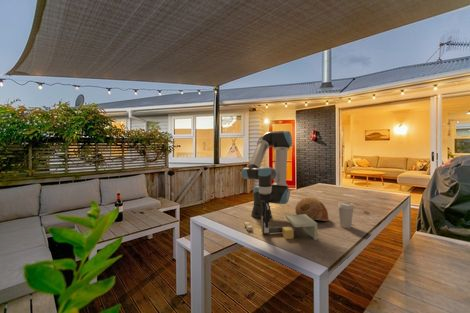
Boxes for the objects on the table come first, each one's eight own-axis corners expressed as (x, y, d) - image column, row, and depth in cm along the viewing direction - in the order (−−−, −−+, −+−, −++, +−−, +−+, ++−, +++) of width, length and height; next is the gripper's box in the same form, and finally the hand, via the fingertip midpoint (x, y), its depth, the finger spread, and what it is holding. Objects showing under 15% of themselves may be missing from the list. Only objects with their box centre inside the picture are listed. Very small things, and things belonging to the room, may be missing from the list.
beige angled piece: (285, 230, 143) (285, 215, 142) (305, 228, 144) (305, 214, 143) (295, 241, 127) (295, 224, 126) (317, 239, 128) (317, 223, 128)
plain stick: (244, 226, 151) (244, 222, 151) (248, 225, 152) (248, 221, 151) (248, 232, 141) (248, 227, 141) (252, 231, 142) (252, 227, 142)
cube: (282, 235, 135) (282, 227, 134) (290, 234, 135) (290, 226, 135) (285, 239, 130) (285, 230, 130) (293, 238, 130) (293, 229, 130)
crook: (261, 231, 138) (261, 215, 138) (290, 229, 141) (290, 213, 140) (265, 238, 129) (265, 221, 128) (296, 236, 131) (296, 219, 130)
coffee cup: (357, 228, 143) (357, 205, 142) (343, 229, 141) (343, 206, 140) (347, 223, 152) (347, 201, 151) (334, 224, 151) (334, 202, 150)
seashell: (312, 210, 176) (315, 192, 172) (331, 224, 158) (335, 205, 153) (289, 213, 168) (292, 195, 164) (306, 229, 150) (310, 208, 146)
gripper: (255, 190, 143) (256, 226, 145) (262, 196, 126) (262, 237, 128) (267, 189, 144) (267, 225, 146) (275, 195, 127) (275, 236, 129)
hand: (265, 230), depth 137 cm, fingers closed on crook, 4 cm apart
